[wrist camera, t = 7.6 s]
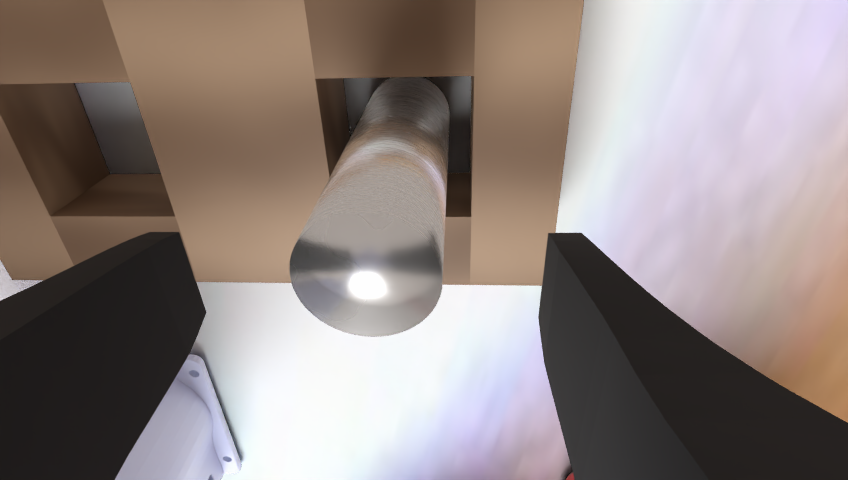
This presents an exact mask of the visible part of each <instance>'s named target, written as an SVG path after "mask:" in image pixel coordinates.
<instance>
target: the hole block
mask: <svg viewBox="0 0 848 480" xmlns="http://www.w3.org/2000/svg"><path fill="white" fill-rule="evenodd" d="M583 4H584V0H0V260H1V261H2V263H3V265H4V266H5V268H6V270H7V272H8V273H9V275H10V277H11V279H12V280H46V279H48V278H50V277H52V276H54V275H56V274H58V273H60V272H62V271H64V270H66V269H68V268H70V267H72V266H74V265H77V264H79V263H81V262H83V261H85V260H87V259H89V258H91V257H93V256H95V255H97V254H99V253H101V252H103V251H105V250H107V249H110V248H112V247H114V246H116V245H118V244H120V243H123V242H125V241H127V240H130V239H132V238H134V237H137V236H140V235H142V234H145V233H148V232H179V233H180V236H181V239H182V242H183V245H184V248H185V251H186V254H187V257H188V260H189V263H190V265H191V268H192V271H193V274H194V277H195V280H196V282H261V283H292V282H291V279H290V271H289V267H290V258H291V253H292V251H293V248H294V246H295V244H296V242H297V240H298V238H299V236H300V234H301V232H302V230H303V228H304V226H305V224H306V222H307V221H308V219H309V217H310V215H311V213H312V211H313V209H314V207H315V205H316V203H317V201H318V199H319V197H320V195H321V193H322V191H323V190H324V188H325V186H326V184H327V182H328V180H329V178H330V176H331V174H332V172H333V170H334V168H335V166H336V164H337V162H338V160H339V159H340V157H341V155H342V153H343V151H344V149H345V147H346V145H347V143H348V141H349V139H350V134H349V125H348V116H347V108H346V99H345V90H344V82H343V78H382V77H438V76H471V121H470V172H462V173H447V192H446V214H445V236H444V258H443V280H442V284H447V285H539V286H542V282H543V273H544V265H545V256H546V247H547V238H548V233H555V231H556V223H557V214H558V206H559V198H560V190H561V182H562V174H563V166H564V158H565V150H566V142H567V133H568V125H569V117H570V109H571V101H572V93H573V85H574V77H575V69H576V61H577V52H578V44H579V36H580V28H581V20H582V12H583ZM101 82H130V83H131V86H132V89H133V92H134V95H135V98H136V101H137V104H138V107H139V110H140V113H141V116H142V119H143V122H144V125H145V128H146V131H147V134H148V137H149V140H150V143H151V146H152V148H153V151H154V154H155V157H156V160H157V163H158V166H159V169H160V172H161V174H110V173H109V171H108V168H107V166H106V163H105V160H104V158H103V155H102V153H101V150H100V148H99V145H98V143H97V140H96V138H95V135H94V133H93V130H92V128H91V125H90V123H89V120H88V118H87V115H86V112H85V110H84V107H83V105H82V102H81V100H80V97H79V95H78V92H77V90H76V87H75V85H74V83H101Z"/></svg>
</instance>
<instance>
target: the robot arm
mask: <svg viewBox="0 0 848 480" xmlns="http://www.w3.org/2000/svg"><path fill="white" fill-rule="evenodd" d="M205 314H206V310H205V307H204V304H203V301H202V298H201V295H200V292H199V289H198V286H197V283H196V280H195V277H194V274H193V271H192V268H191V265H190V263H189V260H188V257H187V254H186V251H185V248H184V245H183V242H182V239H181V236H180V233H179V232H148V233H145V234H142V235H140V236H137V237H134V238H132V239H130V240H127V241H125V242H123V243H120V244H118V245H116V246H114V247H112V248H110V249H107V250H105V251H103V252H101V253H99V254H97V255H95V256H93V257H91V258H89V259H87V260H85V261H83V262H81V263H79V264H77V265H74V266H72V267H70V268H68V269H66V270H64V271H62V272H60V273H58V274H56V275H54V276H52V277H50V278H48V279H46V280H44V281H42V282H40V283H38V284H36V285H34V286H32V287H29V288H27V289H25V290H23V291H21V292H19V293H16V294H14V295H12V296H10V297H8V298H6V299H3V300H1V301H0V480H221V479H222V476H223V474H237V473H239V472H240V470H241V467H242V464H241V461H240V459H239V456H238V453H237V450H236V448H235V445H234V442H233V439H232V437H231V434H230V431H229V429H228V426H227V423H226V420H225V418H224V415H223V412H222V409H221V407H220V404H219V401H218V399H217V396H216V393H215V390H214V388H213V385H212V382H211V379H210V377H209V374H208V371H207V369H206V366H205V363H204V361H203V359H202V358H201V357H199V356H197V355H193V354H189V353H190V351H191V349H192V346H193V344H194V342H195V339H196V337H197V335H198V332H199V330H200V327H201V325H202V322H203V320H204V317H205ZM539 325H540V333H541V342H542V349H543V356H544V363H545V367H546V371H547V375H548V379H549V383H550V387H551V391H552V395H553V398H554V402H555V406H556V410H557V414H558V417H559V421H560V425H561V429H562V433H563V436H564V440H565V444H566V448H567V452H568V455H569V459H570V463H571V467H572V471H573V475H574V480H848V423H847V422H845V421H843V420H841V419H840V418H838V417H836V416H834V415H832V414H831V413H829V412H827V411H825V410H823V409H822V408H820V407H818V406H816V405H815V404H813V403H811V402H809V401H807V400H806V399H804V398H802V397H800V396H798V395H797V394H795V393H793V392H791V391H789V390H788V389H786V388H784V387H783V386H781V385H779V384H778V383H776V382H774V381H773V380H771V379H769V378H768V377H766V376H764V375H763V374H761V373H759V372H758V371H756V370H755V369H753V368H752V367H750V366H749V365H747V364H746V363H744V362H743V361H741V360H739V359H738V358H736V357H735V356H733V355H732V354H730V353H729V352H727V351H726V350H724V349H723V348H721V347H719V346H718V345H717V344H715V343H714V342H712V341H711V340H709V339H708V338H707V337H705V336H704V335H702V334H701V333H700V332H698V331H697V330H696V329H694V328H693V327H692V326H690V325H689V324H688V323H686V322H685V321H684V320H682V319H681V318H680V317H678V316H677V315H676V314H674V313H673V312H672V311H670V310H669V309H668V308H667V307H665V306H664V305H663V304H662V303H660V302H659V301H658V300H657V299H656V298H654V297H653V296H652V295H651V294H650V293H648V292H647V291H646V290H645V289H644V288H642V287H641V286H640V285H639V284H638V283H637V282H635V281H634V280H633V279H632V278H631V277H630V276H629V275H627V274H626V273H625V272H624V271H623V270H622V269H621V268H620V267H618V266H617V265H616V264H615V263H614V262H613V261H612V260H611V259H610V258H609V257H607V256H606V255H605V254H604V253H603V252H602V251H601V250H600V249H599V248H598V247H597V246H595V245H594V244H593V243H592V242H591V241H590V240H589V239H588V238H587V237H585V236H584V235H583V234H582V233H548V238H547V247H546V256H545V265H544V273H543V282H542V291H541V300H540V308H539Z"/></svg>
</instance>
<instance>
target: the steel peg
mask: <svg viewBox="0 0 848 480" xmlns="http://www.w3.org/2000/svg"><path fill="white" fill-rule="evenodd" d="M449 126H450V110H449V105H448V102H447V100H446V98H445V96H444V94H443V93H442V91H441V90H440V89H439V88H438V87H437V86H436V85H435V84H434V83H433V82H431V81H430V80H428V79H426V78H424V77H391V78H389V79H387V80H386V81H384V82H383V83H382V84H380V85H379V86H378V87H377V89H376V90H375V91H374V93H373V95H372V96H371V98H370V100H369V102H368V104H367V106H366V108H365V110H364V112H363V114H362V116H361V118H360V120H359V122H358V124H357V126H356V128H355V129H354V131H353V133H352V135H351V137H350V139H349V141H348V143H347V145H346V147H345V149H344V151H343V153H342V155H341V157H340V159H339V160H338V162H337V164H336V166H335V168H334V170H333V172H332V174H331V176H330V178H329V180H328V182H327V184H326V186H325V188H324V190H323V191H322V193H321V195H320V197H319V199H318V201H317V203H316V205H315V207H314V209H313V211H312V213H311V215H310V217H309V219H308V221H307V222H306V224H305V226H304V228H303V230H302V232H301V234H300V236H299V238H298V240H297V242H296V244H295V246H294V248H293V251H292V253H291V258H290V267H289V271H290V279H291V282H292V285H293V288H294V290H295V292H296V294H297V296H298V298H299V299H300V301H301V302H302V303H303V305H304V306H305V307H306V308H307V309H308V310H309V311H310V312H311V313H312V314H313V315H314V316H316V317H317V318H318V319H319V320H321V321H322V322H324V323H326V324H327V325H329V326H331V327H333V328H335V329H338V330H341V331H343V332H346V333H350V334H354V335H360V336H371V337H376V336H388V335H393V334H397V333H400V332H403V331H406V330H408V329H410V328H412V327H414V326H416V325H417V324H419V323H420V322H422V321H423V320H424V319H425V318H426V317H427V316H428V315H429V314H430V313H431V312H432V310H433V309H434V307H435V306H436V304H437V302H438V300H439V297H440V294H441V290H442V280H443V258H444V236H445V214H446V192H447V170H448V148H449Z"/></svg>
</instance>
